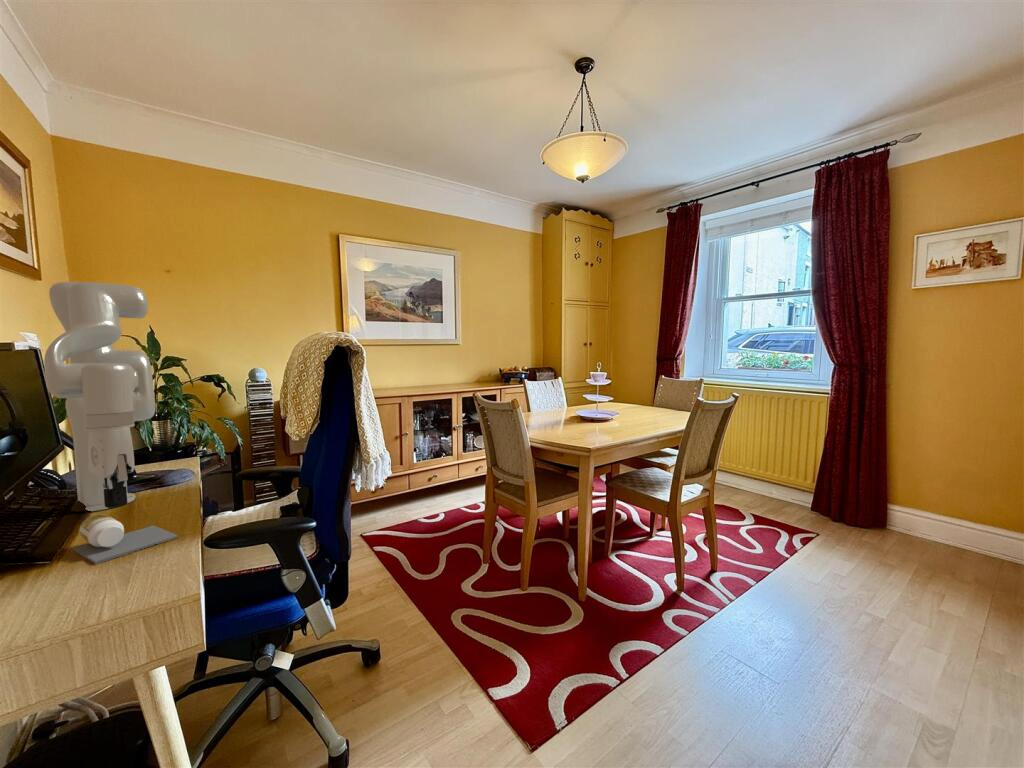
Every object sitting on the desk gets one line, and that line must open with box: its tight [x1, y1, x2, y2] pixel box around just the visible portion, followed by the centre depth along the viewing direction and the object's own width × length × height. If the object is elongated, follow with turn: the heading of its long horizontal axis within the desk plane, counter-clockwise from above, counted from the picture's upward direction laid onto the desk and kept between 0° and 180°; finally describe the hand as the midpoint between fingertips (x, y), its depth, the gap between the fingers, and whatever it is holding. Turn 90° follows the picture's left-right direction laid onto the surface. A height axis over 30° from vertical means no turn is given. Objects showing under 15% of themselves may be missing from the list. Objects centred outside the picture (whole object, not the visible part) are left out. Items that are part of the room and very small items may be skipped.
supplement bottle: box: [78, 514, 125, 547], centre depth 84 cm, size 5×5×10 cm
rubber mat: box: [73, 525, 179, 565], centre depth 86 cm, size 12×13×1 cm
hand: (116, 505), depth 87 cm, fingers closed
